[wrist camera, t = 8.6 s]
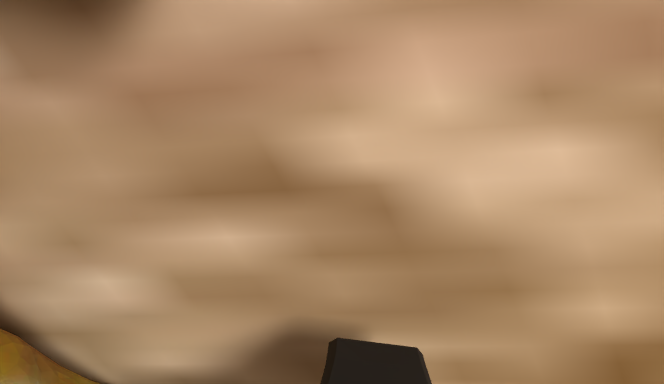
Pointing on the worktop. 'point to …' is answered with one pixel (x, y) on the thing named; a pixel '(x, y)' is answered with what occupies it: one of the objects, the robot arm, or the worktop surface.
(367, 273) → the worktop surface
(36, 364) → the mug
